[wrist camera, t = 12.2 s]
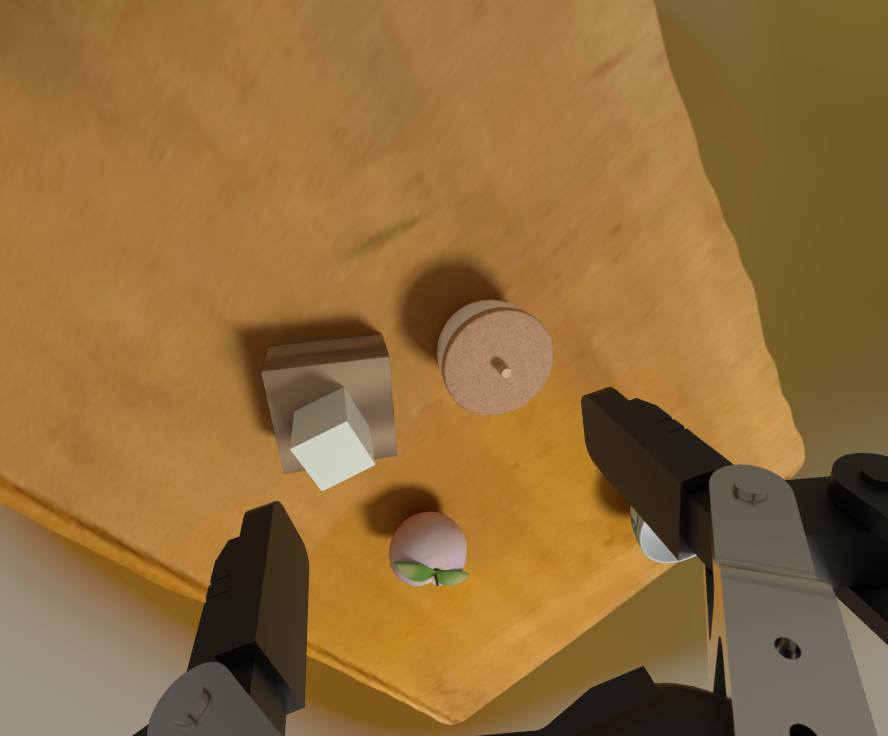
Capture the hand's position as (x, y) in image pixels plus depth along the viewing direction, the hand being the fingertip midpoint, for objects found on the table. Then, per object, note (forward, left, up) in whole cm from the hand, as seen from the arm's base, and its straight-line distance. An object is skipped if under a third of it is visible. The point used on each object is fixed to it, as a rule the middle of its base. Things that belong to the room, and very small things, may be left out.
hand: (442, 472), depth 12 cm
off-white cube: (+14, -7, -28) cm, 32 cm away
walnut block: (+14, -7, -34) cm, 38 cm away
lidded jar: (+13, +9, -34) cm, 38 cm away
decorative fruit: (+35, -3, -34) cm, 49 cm away
